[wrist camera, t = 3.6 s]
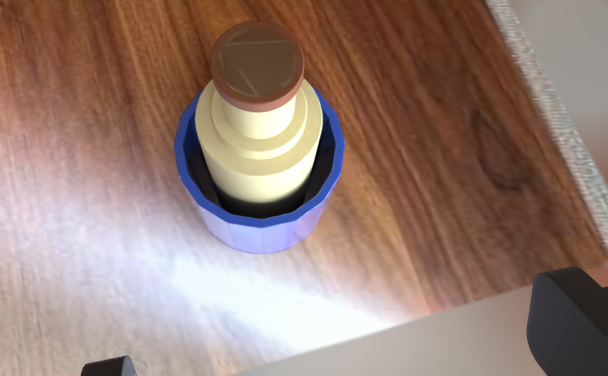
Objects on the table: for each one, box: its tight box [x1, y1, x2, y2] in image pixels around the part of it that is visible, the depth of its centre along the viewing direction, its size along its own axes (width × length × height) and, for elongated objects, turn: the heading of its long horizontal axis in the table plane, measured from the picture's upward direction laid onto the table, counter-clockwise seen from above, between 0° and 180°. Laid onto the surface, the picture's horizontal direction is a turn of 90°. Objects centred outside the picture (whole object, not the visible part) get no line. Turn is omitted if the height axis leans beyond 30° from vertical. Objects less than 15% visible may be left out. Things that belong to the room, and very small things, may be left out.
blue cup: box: [173, 86, 345, 254], centre depth 32 cm, size 9×9×8 cm
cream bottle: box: [195, 21, 323, 219], centre depth 28 cm, size 6×6×16 cm
